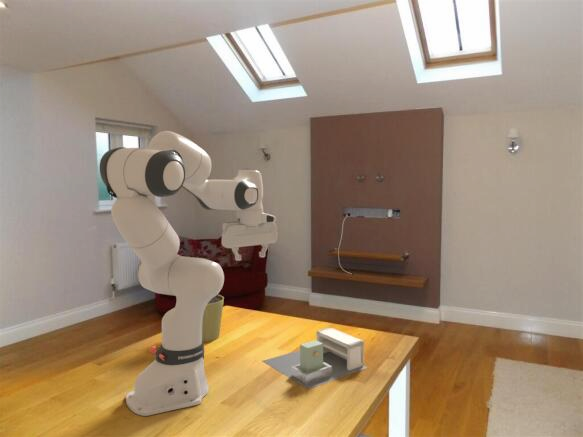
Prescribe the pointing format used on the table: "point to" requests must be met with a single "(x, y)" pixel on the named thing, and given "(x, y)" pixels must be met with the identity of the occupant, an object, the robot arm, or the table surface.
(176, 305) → the robot arm
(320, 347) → the tall mint green pillar
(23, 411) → the table surface
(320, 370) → the hollow rectangular frame
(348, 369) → the gray base with shelf
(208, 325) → the potted cactus
